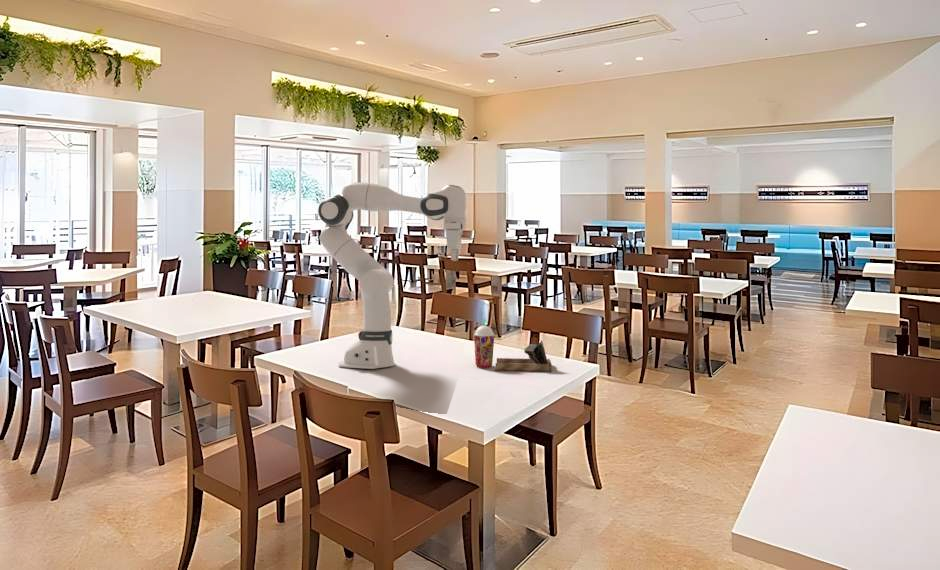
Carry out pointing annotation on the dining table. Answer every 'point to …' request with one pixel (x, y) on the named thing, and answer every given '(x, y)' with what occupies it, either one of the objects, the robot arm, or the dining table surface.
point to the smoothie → (484, 346)
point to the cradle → (522, 365)
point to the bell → (537, 353)
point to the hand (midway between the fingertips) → (454, 260)
